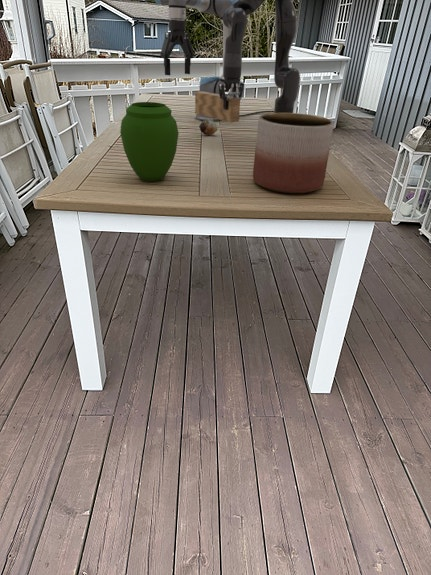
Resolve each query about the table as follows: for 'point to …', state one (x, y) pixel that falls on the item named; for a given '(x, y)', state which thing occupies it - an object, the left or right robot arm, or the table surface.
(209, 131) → the seashell
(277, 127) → the planter
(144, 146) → the vase
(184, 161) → the table surface
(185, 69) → the left robot arm
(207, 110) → the bar
